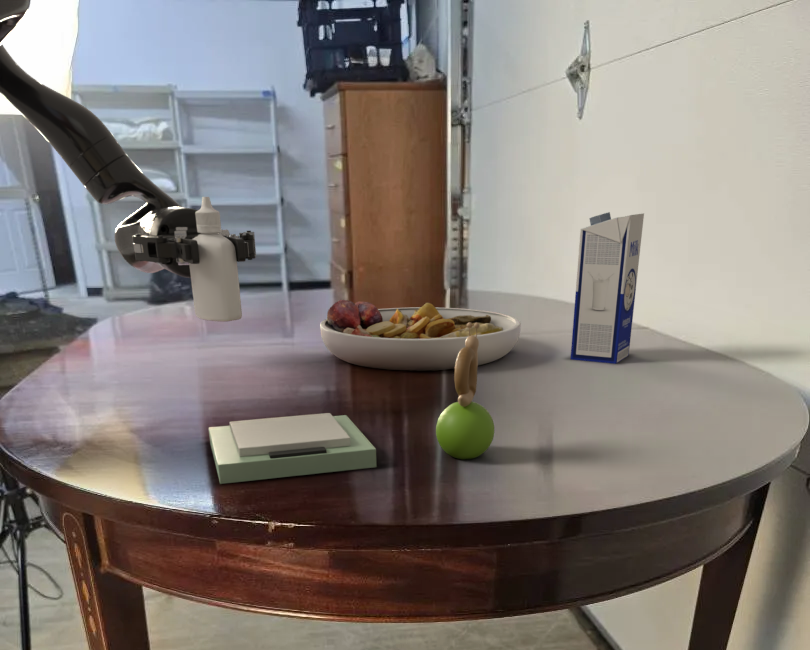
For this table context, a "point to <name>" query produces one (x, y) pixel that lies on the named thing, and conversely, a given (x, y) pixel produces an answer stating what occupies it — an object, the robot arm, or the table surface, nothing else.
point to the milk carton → (606, 288)
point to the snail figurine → (465, 409)
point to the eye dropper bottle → (214, 270)
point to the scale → (288, 447)
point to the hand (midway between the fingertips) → (218, 251)
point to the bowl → (414, 335)
